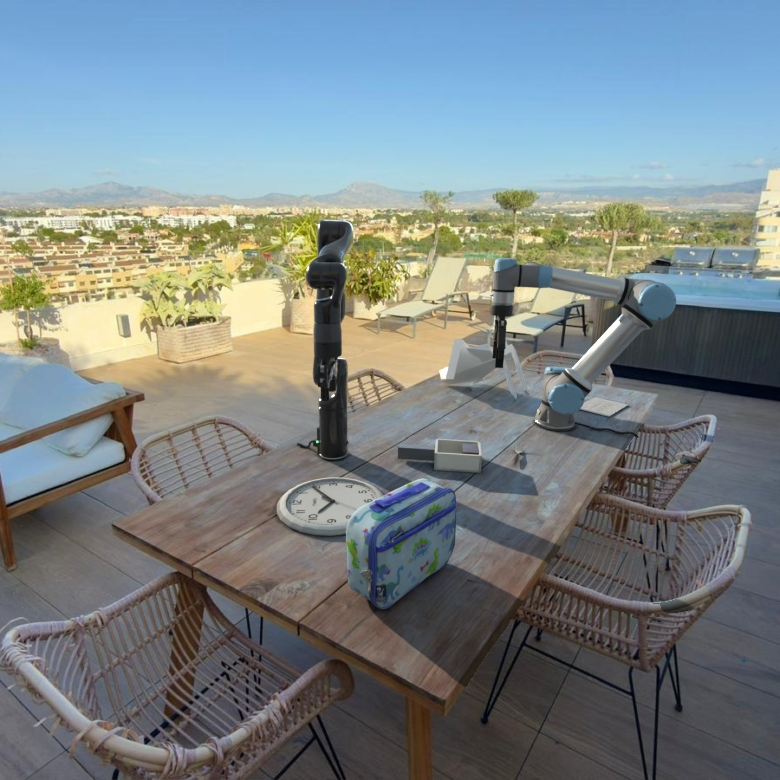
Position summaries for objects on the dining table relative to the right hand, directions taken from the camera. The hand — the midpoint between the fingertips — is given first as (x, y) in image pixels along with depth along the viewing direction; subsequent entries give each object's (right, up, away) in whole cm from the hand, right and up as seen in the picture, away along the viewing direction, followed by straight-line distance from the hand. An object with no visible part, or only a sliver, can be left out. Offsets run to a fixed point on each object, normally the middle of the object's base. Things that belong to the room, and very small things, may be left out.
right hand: (497, 362), depth 189 cm
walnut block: (-13, -30, -17) cm, 37 cm away
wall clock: (-55, -41, -46) cm, 82 cm away
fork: (+4, -32, -14) cm, 35 cm away
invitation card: (+53, -17, +38) cm, 67 cm away
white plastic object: (+3, -11, +55) cm, 56 cm away
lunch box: (-36, -51, -76) cm, 98 cm away
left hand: (-56, -11, -43) cm, 72 cm away
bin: (-23, -33, -18) cm, 44 cm away
